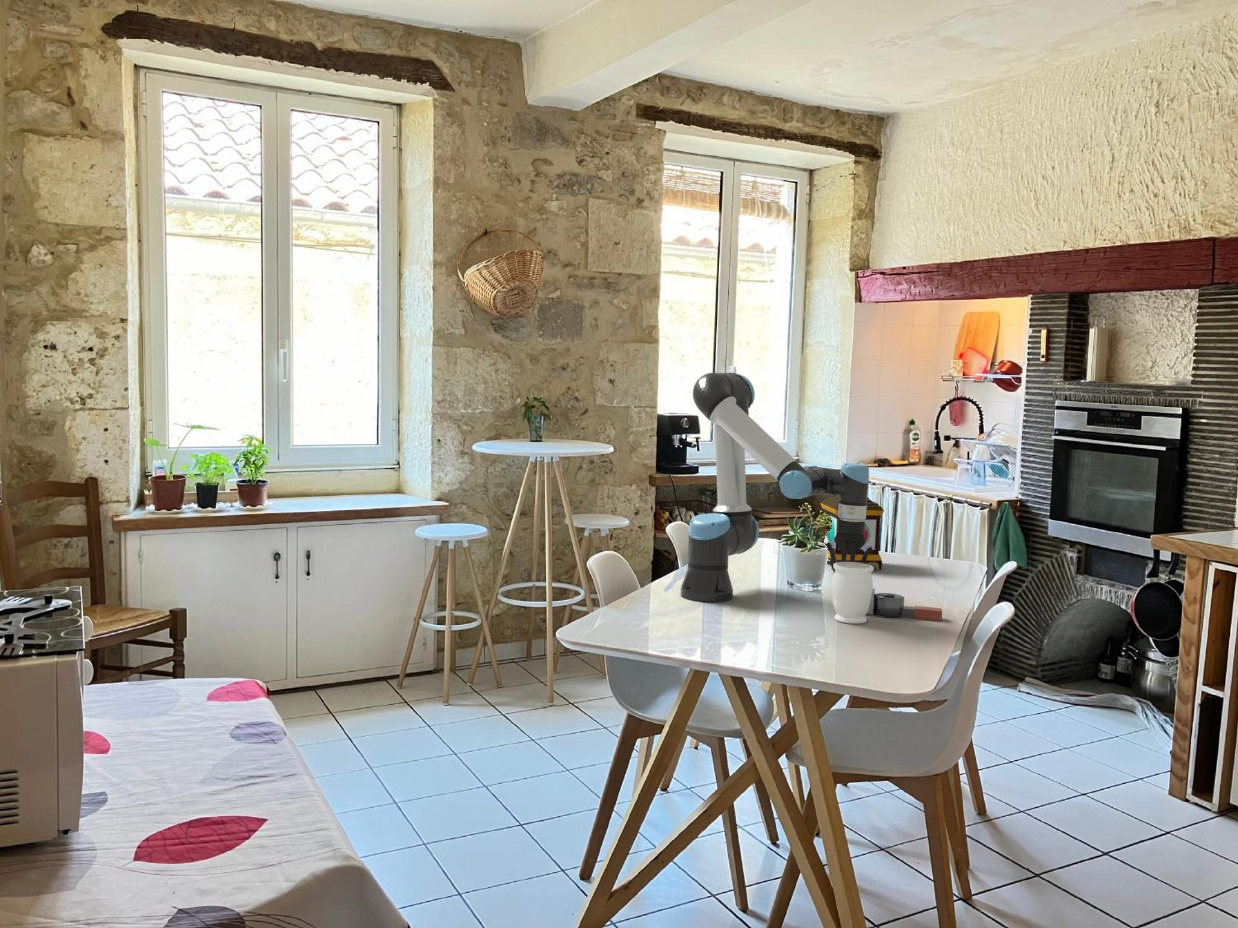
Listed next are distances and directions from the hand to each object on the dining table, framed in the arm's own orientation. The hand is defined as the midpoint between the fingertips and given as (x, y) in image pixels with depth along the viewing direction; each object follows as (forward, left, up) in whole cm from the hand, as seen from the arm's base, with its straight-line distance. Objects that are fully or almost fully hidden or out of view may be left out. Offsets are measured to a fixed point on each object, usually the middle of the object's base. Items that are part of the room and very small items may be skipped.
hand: (844, 603), depth 274 cm
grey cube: (+5, 0, -2) cm, 5 cm away
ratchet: (+15, 0, -2) cm, 15 cm away
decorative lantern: (-4, +66, -2) cm, 66 cm away
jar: (+2, -11, -2) cm, 11 cm away
